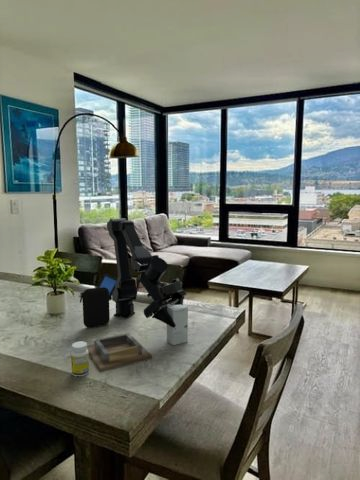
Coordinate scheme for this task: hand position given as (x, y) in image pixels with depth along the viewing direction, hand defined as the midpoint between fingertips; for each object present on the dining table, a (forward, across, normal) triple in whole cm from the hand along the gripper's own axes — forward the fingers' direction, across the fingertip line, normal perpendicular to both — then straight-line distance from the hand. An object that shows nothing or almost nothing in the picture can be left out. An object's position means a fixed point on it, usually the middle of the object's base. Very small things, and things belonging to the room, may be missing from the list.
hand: (180, 323), depth 119 cm
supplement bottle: (-4, -32, +14) cm, 35 cm away
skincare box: (+4, 0, +6) cm, 7 cm away
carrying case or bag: (-19, -6, +29) cm, 35 cm away
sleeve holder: (-4, -18, +13) cm, 22 cm away
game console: (-37, +22, +47) cm, 64 cm away
